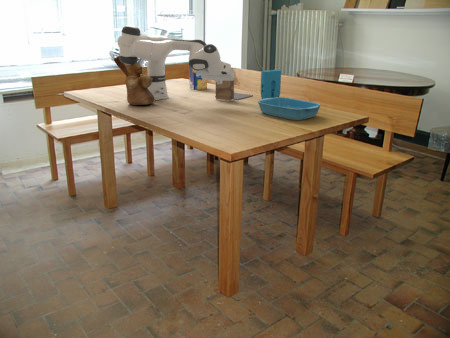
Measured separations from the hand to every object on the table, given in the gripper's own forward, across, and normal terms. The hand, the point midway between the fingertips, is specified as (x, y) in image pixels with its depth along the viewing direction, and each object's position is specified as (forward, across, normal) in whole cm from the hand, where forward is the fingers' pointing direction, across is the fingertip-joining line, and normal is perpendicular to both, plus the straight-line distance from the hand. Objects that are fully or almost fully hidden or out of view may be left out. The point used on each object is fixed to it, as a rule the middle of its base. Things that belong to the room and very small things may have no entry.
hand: (219, 83), depth 273 cm
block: (+13, +30, -3) cm, 33 cm away
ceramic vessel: (-2, -47, -21) cm, 52 cm away
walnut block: (+17, 0, 0) cm, 17 cm away
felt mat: (+25, +2, +10) cm, 27 cm away
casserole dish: (-4, +45, -23) cm, 51 cm away
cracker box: (+41, -31, +28) cm, 59 cm away
